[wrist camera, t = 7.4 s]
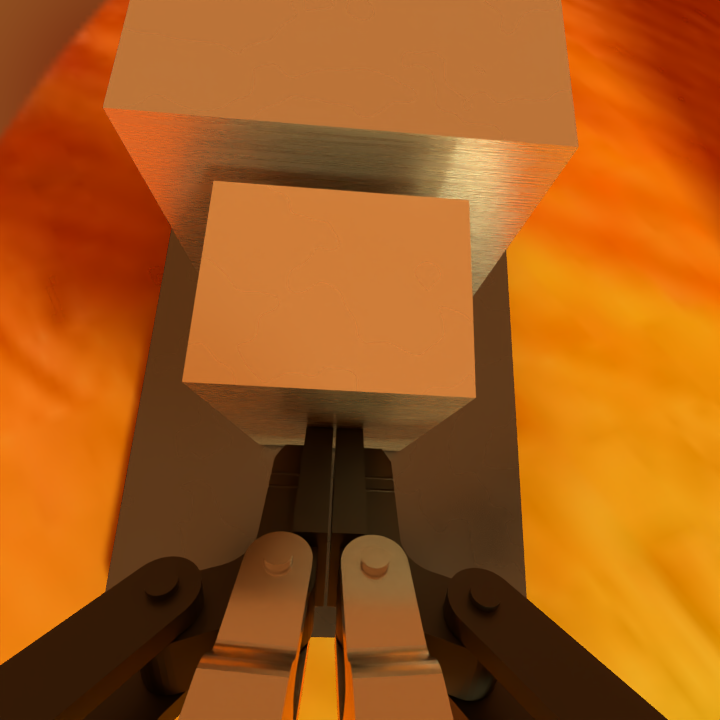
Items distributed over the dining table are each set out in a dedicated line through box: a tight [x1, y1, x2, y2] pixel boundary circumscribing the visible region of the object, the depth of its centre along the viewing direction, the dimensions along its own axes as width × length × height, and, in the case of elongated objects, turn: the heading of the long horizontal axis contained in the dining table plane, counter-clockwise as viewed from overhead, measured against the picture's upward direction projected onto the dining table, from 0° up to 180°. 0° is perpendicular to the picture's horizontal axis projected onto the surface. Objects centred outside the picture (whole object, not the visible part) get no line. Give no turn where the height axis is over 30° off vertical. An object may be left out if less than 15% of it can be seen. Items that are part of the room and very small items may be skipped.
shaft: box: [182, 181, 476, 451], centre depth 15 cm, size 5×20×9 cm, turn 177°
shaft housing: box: [103, 0, 578, 637], centre depth 15 cm, size 14×26×12 cm, turn 177°
